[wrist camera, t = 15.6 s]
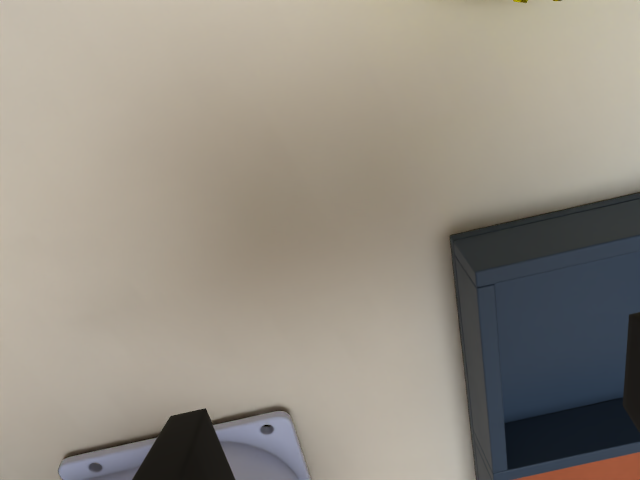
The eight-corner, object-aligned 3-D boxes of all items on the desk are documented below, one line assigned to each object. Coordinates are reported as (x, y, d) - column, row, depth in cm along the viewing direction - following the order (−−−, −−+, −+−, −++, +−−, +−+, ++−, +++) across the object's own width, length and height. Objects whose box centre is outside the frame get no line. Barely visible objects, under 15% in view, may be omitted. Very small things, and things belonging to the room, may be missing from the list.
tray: (673, 519, 26) (712, 570, 24) (484, 559, 27) (505, 614, 24) (725, 172, 18) (792, 200, 16) (449, 235, 18) (475, 272, 16)
